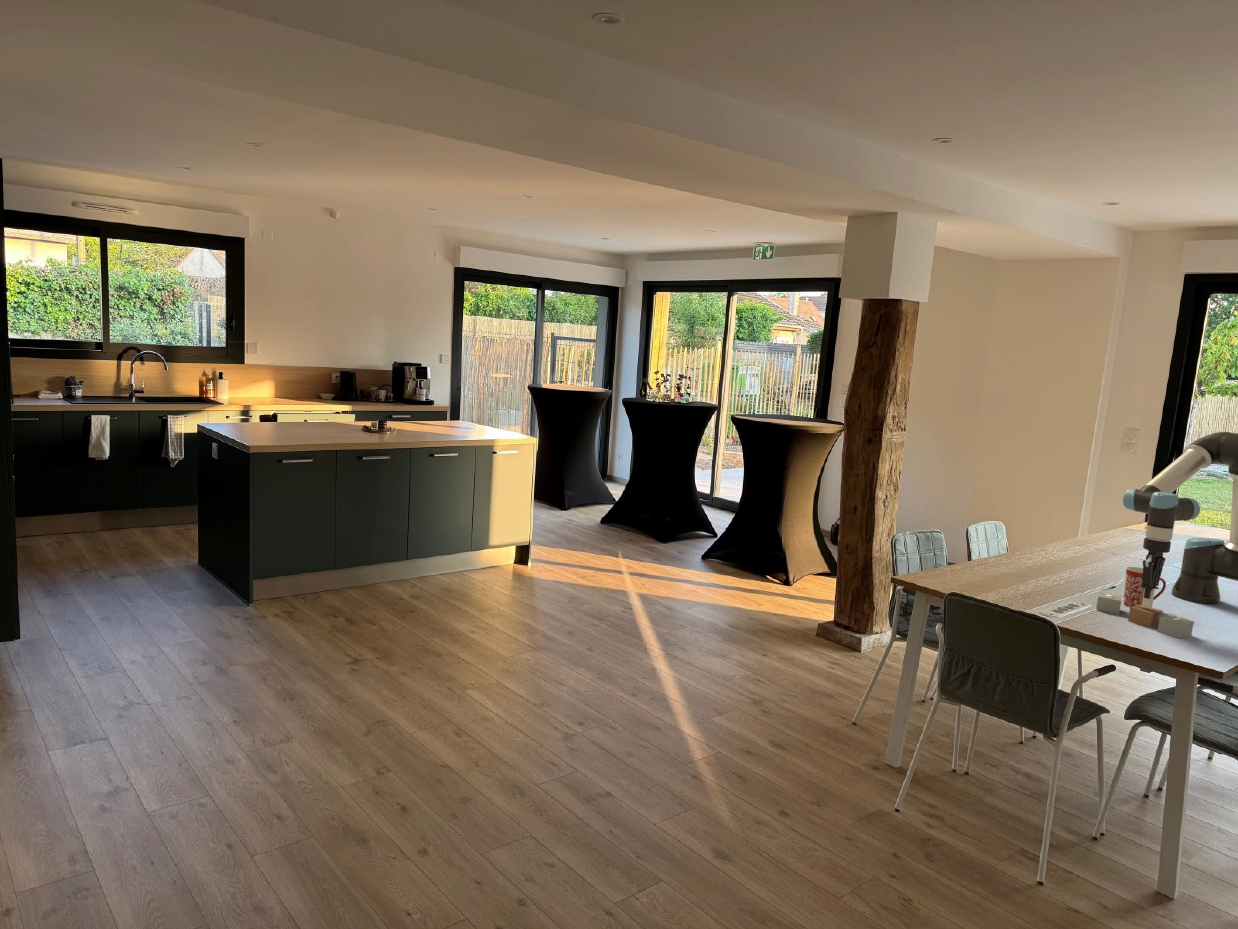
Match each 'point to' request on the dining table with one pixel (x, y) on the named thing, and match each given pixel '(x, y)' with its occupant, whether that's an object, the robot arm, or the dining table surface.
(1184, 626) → the marked block
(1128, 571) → the mug
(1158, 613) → the walnut block
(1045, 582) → the dining table surface
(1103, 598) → the marked block
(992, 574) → the dining table surface
